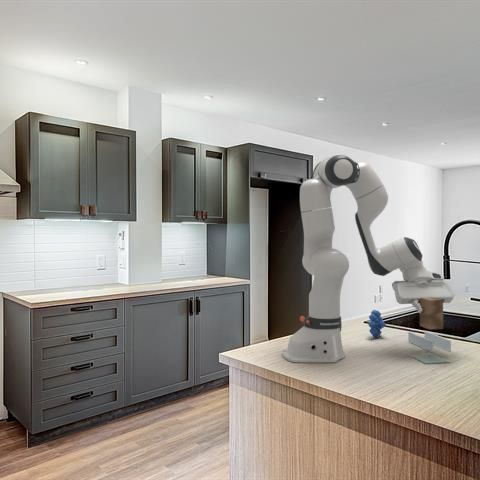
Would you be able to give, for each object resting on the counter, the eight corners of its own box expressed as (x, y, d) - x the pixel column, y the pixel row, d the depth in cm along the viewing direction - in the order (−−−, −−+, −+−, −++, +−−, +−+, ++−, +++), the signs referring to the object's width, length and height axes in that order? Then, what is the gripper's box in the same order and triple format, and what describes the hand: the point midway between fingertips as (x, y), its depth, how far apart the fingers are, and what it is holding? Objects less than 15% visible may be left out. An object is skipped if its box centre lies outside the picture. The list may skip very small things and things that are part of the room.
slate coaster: (425, 364, 146) (425, 363, 146) (410, 356, 155) (410, 355, 155) (449, 362, 147) (449, 361, 147) (433, 355, 156) (433, 354, 156)
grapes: (381, 342, 176) (381, 312, 175) (364, 339, 180) (364, 310, 179) (390, 336, 185) (390, 308, 185) (374, 334, 189) (374, 306, 189)
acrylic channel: (432, 352, 160) (432, 341, 160) (408, 341, 176) (408, 331, 176) (451, 351, 161) (451, 340, 161) (425, 340, 177) (425, 330, 177)
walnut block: (429, 329, 148) (429, 300, 147) (419, 325, 154) (419, 297, 153) (443, 328, 148) (443, 299, 148) (432, 325, 154) (432, 297, 154)
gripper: (392, 275, 157) (405, 307, 148) (447, 274, 159) (462, 306, 149) (387, 286, 162) (399, 317, 152) (440, 285, 163) (455, 316, 154)
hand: (431, 312), depth 151 cm, fingers closed on walnut block, 5 cm apart
